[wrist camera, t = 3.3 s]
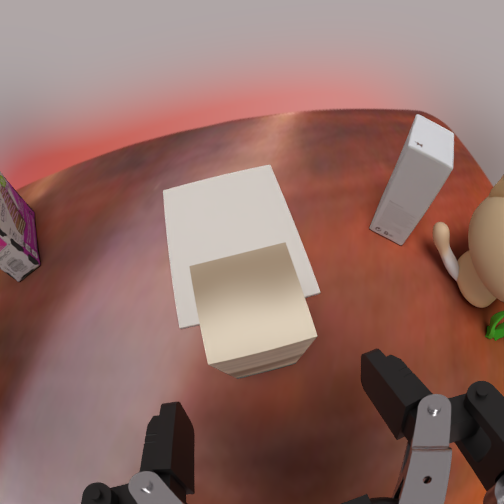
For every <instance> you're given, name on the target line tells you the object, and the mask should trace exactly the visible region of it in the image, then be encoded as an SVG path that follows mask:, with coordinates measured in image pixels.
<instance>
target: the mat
mask: <svg viewBox="0 0 504 504" xmlns="http://www.w3.org/2000/svg"><path fill="white" fill-rule="evenodd" d="M163 196H164V209H165V221H166V231H167V241H168V250H169V259H170V267H171V275H172V282H173V289H174V296H175V303H176V310H177V316H178V322H179V328H180V329H183V328H188V327H193V326H197V325H200V323H199V318H198V313H197V307H196V302H195V296H194V291H193V285H192V279H191V273H190V267H189V266H192V265H196V264H200V263H204V262H208V261H212V260H216V259H220V258H224V257H228V256H232V255H236V254H240V253H244V252H248V251H252V250H256V249H260V248H264V247H268V246H272V245H276V244H280V243H284V242H286V245H287V248H288V251H289V254H290V256H291V259H292V262H293V265H294V268H295V271H296V273H297V276H298V279H299V282H300V285H301V288H302V291H303V294H304V297H305V298H307V297H310V296H314V295H317V294H320V290H319V287H318V284H317V281H316V279H315V276H314V273H313V270H312V268H311V265H310V262H309V260H308V257H307V255H306V252H305V249H304V247H303V244H302V242H301V239H300V236H299V234H298V231H297V229H296V226H295V224H294V221H293V219H292V216H291V214H290V211H289V209H288V206H287V204H286V201H285V199H284V197H283V194H282V192H281V189H280V187H279V185H278V182H277V180H276V177H275V175H274V173H273V170H272V168H271V166H270V165H265V166H260V167H256V168H251V169H246V170H242V171H238V172H233V173H229V174H225V175H220V176H216V177H212V178H208V179H204V180H200V181H196V182H193V183H189V184H185V185H181V186H178V187H174V188H170V189H167V190H163Z"/></svg>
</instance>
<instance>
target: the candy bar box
mask: <svg viewBox="0 0 504 504" xmlns="http://www.w3.org/2000/svg"><path fill="white" fill-rule="evenodd" d="M39 266H40V260H39V253H38V246H37V237H36V227H35V214H34V211H33V210H32V209H31V208H30V207H29V205H28V204H27V203H26V202H25V201H24V200H23V199H22V197H21V196H20V195H19V194H18V193H17V192H16V190H15V189H14V188H13V187H12V186H11V184H10V183H9V182H8V181H7V180H6V178H5V177H4V176H3V175H2V174H1V172H0V269H1V270H3V271H4V272H6V273H7V274H8V275H10V276H11V277H12V278H14V279H15V280H17V281H18V282H19V281H21V280H22V279H23V278H25V277H26V276H27V275H28V274H30V273H31V272H32V271H34V270H35V269H36V268H37V267H39Z"/></svg>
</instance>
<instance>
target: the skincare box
mask: <svg viewBox="0 0 504 504" xmlns="http://www.w3.org/2000/svg"><path fill="white" fill-rule="evenodd" d="M453 158H454V133H452V132H450V131H449V130H447V129H445V128H443V127H441V126H440V125H438V124H436V123H434V122H432V121H430V120H428V119H426V118H424V117H423V116H421V115H419V114H417V115H416V117H415V119H414V122H413V125H412V127H411V130H410V132H409V135H408V137H407V139H406V142H405V144H404V147H403V149H402V152H401V154H400V157H399V159H398V161H397V164H396V166H395V168H394V171H393V173H392V175H391V178H390V180H389V182H388V184H387V186H386V188H385V191H384V193H383V195H382V198H381V200H380V203H379V205H378V208H377V210H376V213H375V215H374V218H373V220H372V223H371V225H370V227H369V229H371V230H372V231H374V232H376V233H378V234H380V235H382V236H384V237H386V238H388V239H390V240H392V241H393V242H395V243H397V244H399V245H403V244H404V242H405V241H406V239H407V238H408V237H409V235H410V234H411V232H412V231H413V230H414V228H415V227H416V225H417V224H418V222H419V221H420V219H421V218H422V217H423V215H424V214H425V212H426V211H427V209H428V208H429V206H430V205H431V203H432V202H433V200H434V199H435V197H436V195H437V194H438V192H439V191H440V189H441V188H442V186H443V184H444V183H445V181H446V179H447V178H448V176H449V174H450V173H451V171H452V169H453Z"/></svg>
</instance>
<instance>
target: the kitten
mask: <svg viewBox="0 0 504 504" xmlns="http://www.w3.org/2000/svg"><path fill="white" fill-rule="evenodd" d="M449 238H450V232H449V228H448V226H447V225H446V224H445V223H443V222H437V223H436V224H435V225H434V227H433V241H434V244H435V246H436V248H437V249H438V251H439V253H440V256H441V258H442V261H443V263H444V265H445V267H446V269H447V271H448V272H449V274H450V275H451V276H452V277H453V278H454V279H455V281H457V283H458V286H459V289H460V291H461V293H462V294H463V296H464V297H465V298H466V300H467V301H468V302H469V303H471V304H472V305H474V306H476V307H480V308H484V307H487V306H489V305H490V304H491V303H492V302H493V301H494V300H495V299H496V298H497V299H499V300H500V301H502V302H504V175H503V176H502V178H501V179H500V180H499V182H498V183H497V184H496V185H495V186H494V187H493V189H492V190H491V192H490V194H489V196H488V197H487V198H486V199H485V200H484V201H483V202H482V203H481V204H480V205H479V206H478V207H477V208H476V210H475V211H474V213H473V215H472V218H471V221H470V225H469V232H468V243H469V251H467V252H465V253H464V254H463V255H462V256H461V257H460V258H459V259H458V261H457V260H456V258H455V256H454V254H453V252H452V250H451V248H450V245H449ZM503 317H504V311H501V312H498V313H496V314H495V315H493V316H492V317H491V320H490V326H487V334H486V336H485V337H487V338H489V339H491V338H494V339H495V341H496V340H498V339H499V338H502V337H504V322H503V323H501V324H500V325H498V327H497V328H496V329H495V326H496V325H497V323H498V322H499V321H500V320H501V319H502V318H503Z"/></svg>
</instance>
